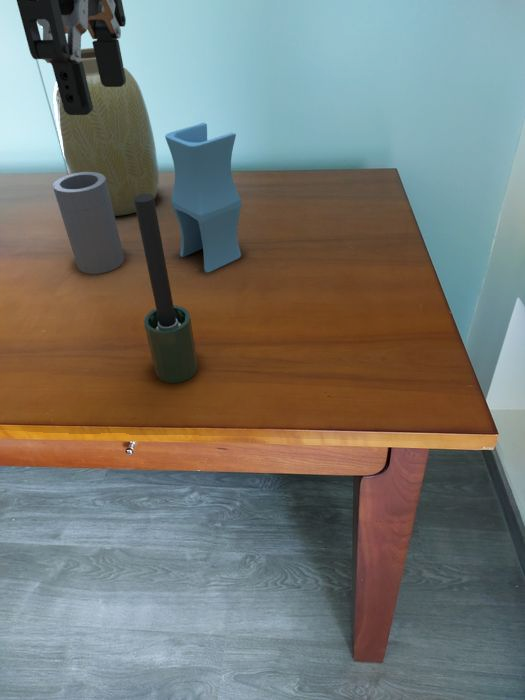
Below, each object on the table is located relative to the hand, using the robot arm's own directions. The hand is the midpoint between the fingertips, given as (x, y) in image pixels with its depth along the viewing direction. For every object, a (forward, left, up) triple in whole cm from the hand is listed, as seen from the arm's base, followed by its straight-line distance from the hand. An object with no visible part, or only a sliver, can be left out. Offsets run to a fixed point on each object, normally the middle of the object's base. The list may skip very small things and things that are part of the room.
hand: (98, 98), depth 46 cm
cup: (+18, +26, -32) cm, 45 cm away
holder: (+2, -2, -32) cm, 33 cm away
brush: (+2, -2, -32) cm, 32 cm away
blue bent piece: (+28, +10, -33) cm, 44 cm away
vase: (+38, +39, -33) cm, 64 cm away
